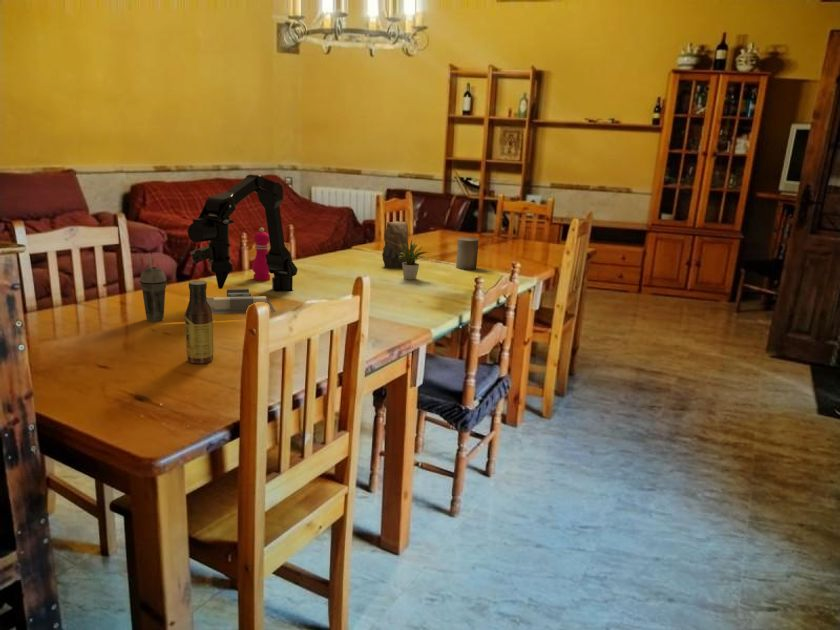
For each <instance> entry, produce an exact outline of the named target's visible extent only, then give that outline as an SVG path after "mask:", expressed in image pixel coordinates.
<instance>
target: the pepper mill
mask: <svg viewBox="0 0 840 630" xmlns="http://www.w3.org/2000/svg"><path fill="white" fill-rule="evenodd" d="M253 241H254V243H255V244H254V248H255V250H256V251H255V252H256V254H255V258H254V260H253V262H252V266H251V267H252V268H251V270H252V271H253V272H254V274H253V280H255V281H260V282H262V281H264V282H266V281H270V280H271V273H270V272H269V268H268V265H266V254H268V249H270V248H269V246H270V244H269V243H270V241H269V234H268V232H266V231H265V228H264V227H260V228H259V231H257V232H256V233H255V234H254V235H253Z"/></svg>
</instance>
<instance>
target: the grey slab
mask: <svg viewBox="0 0 840 630" xmlns="http://www.w3.org/2000/svg"><path fill="white" fill-rule="evenodd" d="M250 296H252V293H251V292H250V289H249V288H226V297H249V298H230V309H214V297H207V299H206V301H207V302H208V304H209V305H210V307H211V309H212V315H223V314H225V315H226V314H227V315H229V314H247V313H246V310H247V308H248V306H249V305H251V304H253V297H250ZM265 296H266V295H265ZM266 298H267V303H268V304H269V305H270V309H271V312H270V313H276V310H275V308H274V306H273V304H272V302H271V301H270V299H269V298H268V296H266Z"/></svg>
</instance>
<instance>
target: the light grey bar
mask: <svg viewBox="0 0 840 630" xmlns="http://www.w3.org/2000/svg"><path fill="white" fill-rule="evenodd" d="M250 297H253V303H256V302H265V303H267V298H266V295H262V296H260V295H255V296H254V295H253V296H252V295H251V296H250ZM213 298H214V309H230V298H249V297H227V296H223V297H222V296H218V297H215V296H214V297H213Z"/></svg>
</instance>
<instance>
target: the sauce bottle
mask: <svg viewBox="0 0 840 630" xmlns="http://www.w3.org/2000/svg"><path fill="white" fill-rule="evenodd" d="M207 288H208V287H207V281H205V280H199V279H198V280H197V279H196V280H191V281H188V289H189V301H188V304H187V308H186V310H185V312H184V323H185V324H184V325H185V326H184V327H185V328H184V329H185V346H186V347H185V350H186V356H187V361H188V363H191V364H195V365H196V364H207V363H209V362H211V361H213V360H214V327H213V326H214V323H213V322H214V321H213V314H212V309H211V307H210V305H209V304H208V302H207V301H206V299H207V298H208V297H207Z"/></svg>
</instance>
